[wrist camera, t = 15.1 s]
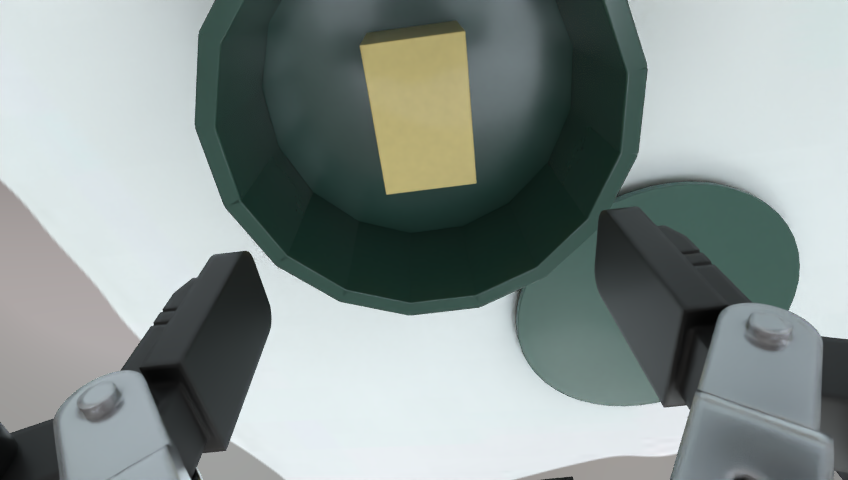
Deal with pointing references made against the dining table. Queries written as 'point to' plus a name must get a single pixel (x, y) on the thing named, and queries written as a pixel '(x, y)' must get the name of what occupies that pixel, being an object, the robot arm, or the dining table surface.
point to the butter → (421, 106)
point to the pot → (359, 158)
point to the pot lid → (590, 318)
